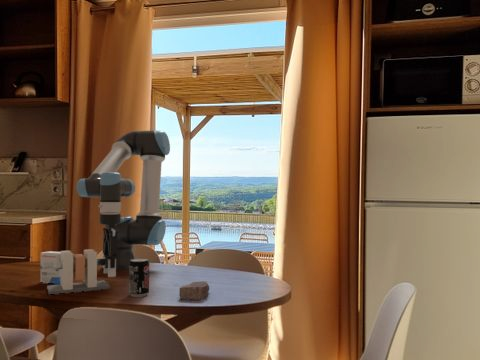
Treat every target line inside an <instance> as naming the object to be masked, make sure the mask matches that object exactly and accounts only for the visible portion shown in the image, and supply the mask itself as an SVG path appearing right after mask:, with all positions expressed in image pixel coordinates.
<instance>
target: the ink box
mask: <svg viewBox="0 0 480 360" xmlns="http://www.w3.org/2000/svg"><path fill="white" fill-rule="evenodd" d="M60 262H61V251H51V250H50V251H43V252H40V278H39V279H40V282H43V283H42V284H48V283H54V284H53V285H60V279H61V269H60ZM40 282H39V283H40Z"/></svg>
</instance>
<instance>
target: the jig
mask: <svg viewBox="0 0 480 360" xmlns="http://www.w3.org/2000/svg"><path fill="white" fill-rule="evenodd" d="M60 252H61V262H62V261H63V269H61V279H60V284H50V285H46V291H47V290H48V291H47V294H48V296H51V295H50V294H55V295H60V294H59V293H65V294H71V293H70V292H74V293H83V292H82V291H84V292H92V290H93V291H100V290H101V289H103V290H110V284H109V283H108V282H106V281H105V280H104V279H103V280H98V279H97V278H98V277H97V276H98V266H97V259H98V252H97V251H96V250H95V249H93V248H91V249H83V256H84V257H85V260H87V267H85V278H84V280H83V282H74V278H73V254H74V253H73V252H72V251H71V250H60Z"/></svg>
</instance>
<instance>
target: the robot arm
mask: <svg viewBox="0 0 480 360" xmlns="http://www.w3.org/2000/svg"><path fill="white" fill-rule="evenodd" d="M169 139H170V138H169V135H168V134H167V133H166V132H165V131H164V130H157V129H153V130H152V129H151V130H133V131H129V132H127V133H125V134H123V135H122V136H121V137H118V139H117V140H116V141H114V143H113V144H112V145H111V150H110V151H109V152H108V153H107V155H106V156H105V157H104V158H103V159H102V161H101V162H100V163H99V165H98V166H97V167H96V168H95V170H93V171H92V173H91V175H90V176H89V177H88V178H87V177H85V178H80V179H79V180H78V181H77V182H76V192H77V194H78V195H79V196H80V197H82V198H99V204H98V208H99V213H101V214H99V224H100V225H104V227H103V229H102V233H103V236H102V254H103V255H102V256H109V257H107V259H108V268H104V267H103V266H101V268H102V269H103V274H107V278H116V276H117V271H118V270H121V271H122V270H129V264H130V260H131V259H136V257H135V253H134V250H133V246H158V245H160V244H161V243H162V242H163V240H164V237H165V235H166V221H165V220H163V217H162V214H160V210H159V209H160V194H161V193H160V192H161V175H162V163H163V162H164V161H165V160H166V156H168V155H169V154H170V152H171V144H170V140H169ZM132 156H140V157H139V159H140V160H141V161H142V171H141V172H142V173H141V174H142V175H141V188H140V189H141V190H140V203H139V204H140V205H139V212H138V213H137V214H136V216H135V219H134V217H133V216H123V217H121V212H122V200H121V199H122V198H125V199H126V198H128V197H131V196H133V194H134V193H135V192H136V185H135V182H134V181H132V179H130V178H122V174H121V173H120V172H118V171H119V170H120V168H121V166H122V165H123V163H125V161H127V160H128V159H130V158H131V157H132Z"/></svg>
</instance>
